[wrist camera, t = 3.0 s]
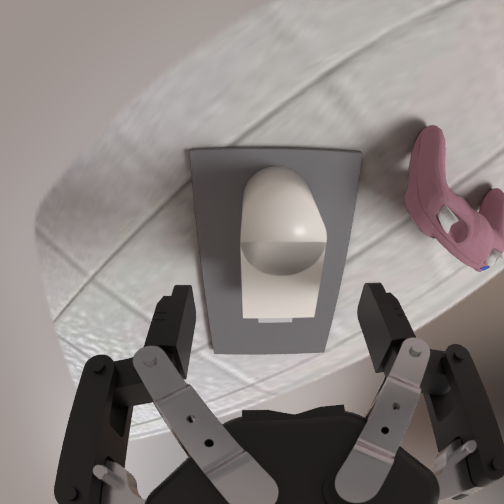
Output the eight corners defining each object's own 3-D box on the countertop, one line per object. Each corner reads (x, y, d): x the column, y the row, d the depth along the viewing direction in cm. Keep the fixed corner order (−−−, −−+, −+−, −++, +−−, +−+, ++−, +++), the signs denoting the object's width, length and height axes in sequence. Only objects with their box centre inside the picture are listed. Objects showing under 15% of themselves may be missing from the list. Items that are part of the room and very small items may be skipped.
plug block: (242, 165, 17) (239, 202, 13) (312, 166, 17) (331, 202, 13) (245, 291, 22) (243, 345, 18) (300, 291, 22) (308, 343, 18)
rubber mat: (191, 148, 17) (189, 151, 17) (359, 151, 17) (362, 153, 17) (214, 349, 27) (214, 353, 27) (323, 348, 27) (323, 352, 27)
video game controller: (384, 155, 19) (395, 240, 15) (428, 113, 15) (460, 195, 11) (465, 216, 21) (480, 291, 17) (504, 189, 17) (530, 266, 14)
